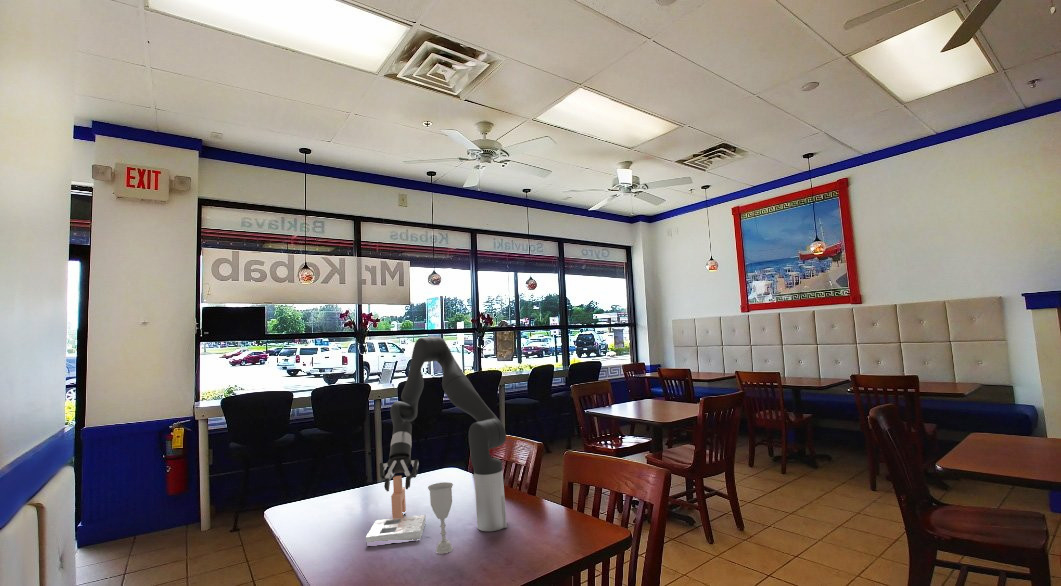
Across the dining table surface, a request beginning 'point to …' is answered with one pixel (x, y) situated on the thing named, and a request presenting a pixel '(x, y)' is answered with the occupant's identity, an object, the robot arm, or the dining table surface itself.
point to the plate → (397, 529)
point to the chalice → (441, 510)
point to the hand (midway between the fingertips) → (397, 489)
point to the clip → (398, 498)
